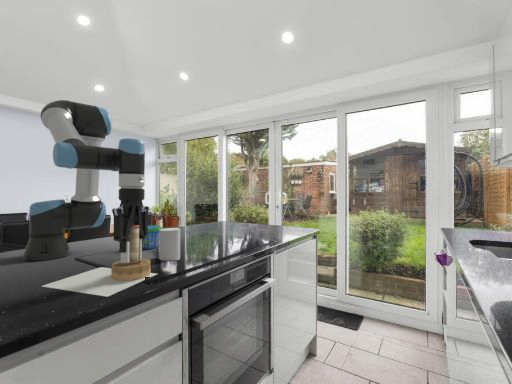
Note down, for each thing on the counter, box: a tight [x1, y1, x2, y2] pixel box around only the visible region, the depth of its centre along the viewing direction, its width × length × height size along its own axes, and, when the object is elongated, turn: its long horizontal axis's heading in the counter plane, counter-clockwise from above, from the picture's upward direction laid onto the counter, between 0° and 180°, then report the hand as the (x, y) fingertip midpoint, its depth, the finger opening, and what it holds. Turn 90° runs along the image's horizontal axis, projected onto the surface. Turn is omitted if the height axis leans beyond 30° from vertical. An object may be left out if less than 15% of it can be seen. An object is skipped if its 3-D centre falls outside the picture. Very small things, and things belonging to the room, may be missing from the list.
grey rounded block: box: [158, 227, 181, 262], centre depth 109 cm, size 8×8×12 cm
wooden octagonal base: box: [110, 258, 152, 281], centre depth 86 cm, size 11×11×4 cm
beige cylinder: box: [126, 224, 139, 265], centre depth 86 cm, size 4×4×16 cm
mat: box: [41, 266, 158, 298], centre depth 82 cm, size 24×20×1 cm
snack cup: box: [142, 224, 164, 250], centre depth 130 cm, size 16×10×10 cm
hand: (131, 260), depth 86 cm, fingers open, 5 cm apart
